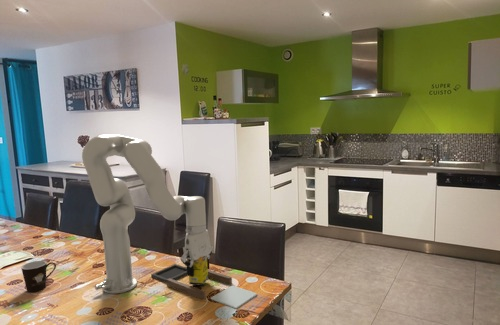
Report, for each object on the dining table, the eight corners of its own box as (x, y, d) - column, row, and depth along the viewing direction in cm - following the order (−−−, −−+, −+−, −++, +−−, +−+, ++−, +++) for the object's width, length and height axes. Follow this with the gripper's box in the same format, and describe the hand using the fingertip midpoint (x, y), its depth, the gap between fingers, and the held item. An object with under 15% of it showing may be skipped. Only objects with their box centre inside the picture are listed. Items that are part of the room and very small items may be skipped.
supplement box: (203, 285, 137) (202, 258, 136) (188, 284, 138) (187, 257, 137) (208, 278, 143) (207, 252, 141) (194, 277, 144) (193, 251, 143)
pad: (236, 308, 121) (236, 307, 121) (210, 299, 128) (210, 297, 128) (257, 294, 130) (257, 293, 130) (232, 286, 138) (232, 285, 138)
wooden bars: (202, 299, 128) (202, 293, 128) (167, 285, 140) (166, 279, 140) (231, 283, 141) (231, 277, 140) (196, 271, 153) (196, 265, 153)
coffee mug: (22, 296, 136) (19, 271, 135) (24, 287, 143) (22, 263, 142) (57, 288, 141) (54, 264, 140) (57, 280, 149) (55, 257, 147)
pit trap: (168, 283, 142) (168, 280, 142) (151, 277, 149) (151, 274, 149) (192, 272, 152) (192, 269, 152) (175, 266, 159) (175, 263, 159)
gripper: (186, 236, 129) (188, 282, 131) (218, 224, 142) (220, 266, 144) (172, 232, 133) (174, 277, 135) (205, 221, 147) (207, 262, 149)
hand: (198, 271), depth 140 cm, fingers closed on supplement box, 7 cm apart
